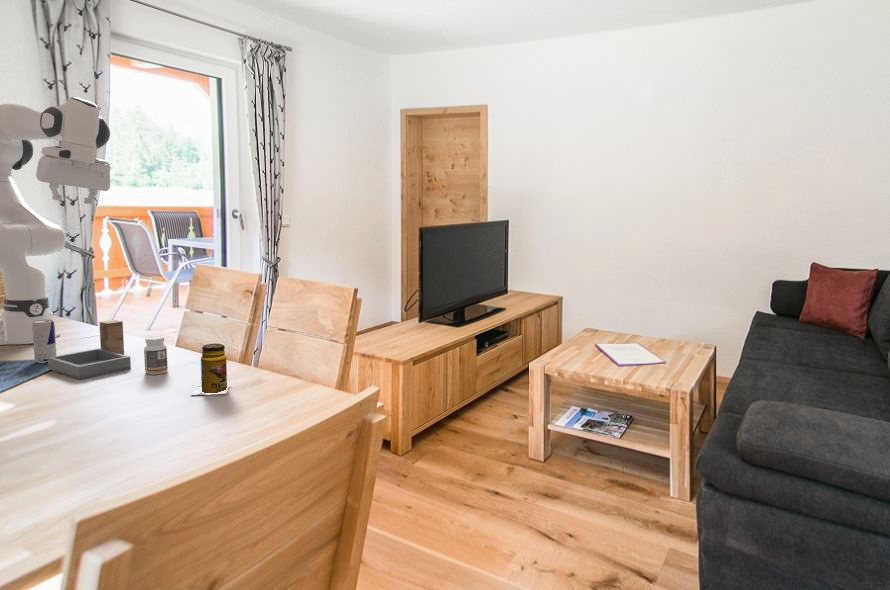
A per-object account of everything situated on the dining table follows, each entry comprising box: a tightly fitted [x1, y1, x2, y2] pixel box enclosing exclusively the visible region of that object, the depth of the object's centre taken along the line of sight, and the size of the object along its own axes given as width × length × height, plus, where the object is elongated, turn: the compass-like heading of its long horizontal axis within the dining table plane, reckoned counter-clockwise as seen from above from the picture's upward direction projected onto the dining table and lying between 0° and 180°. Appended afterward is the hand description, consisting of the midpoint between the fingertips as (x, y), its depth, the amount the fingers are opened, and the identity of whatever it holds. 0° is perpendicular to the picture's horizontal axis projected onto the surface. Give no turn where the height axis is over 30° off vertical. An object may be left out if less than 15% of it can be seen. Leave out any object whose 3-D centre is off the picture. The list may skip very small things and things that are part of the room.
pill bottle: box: [143, 335, 169, 376], centre depth 165 cm, size 6×6×10 cm
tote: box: [47, 347, 132, 381], centre depth 167 cm, size 16×14×4 cm
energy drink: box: [32, 320, 57, 364], centre depth 173 cm, size 5×5×12 cm
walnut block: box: [98, 319, 125, 355], centre depth 180 cm, size 4×4×11 cm
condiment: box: [198, 343, 228, 393], centre depth 150 cm, size 7×8×12 cm
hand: (72, 202), depth 176 cm, fingers open, 8 cm apart
